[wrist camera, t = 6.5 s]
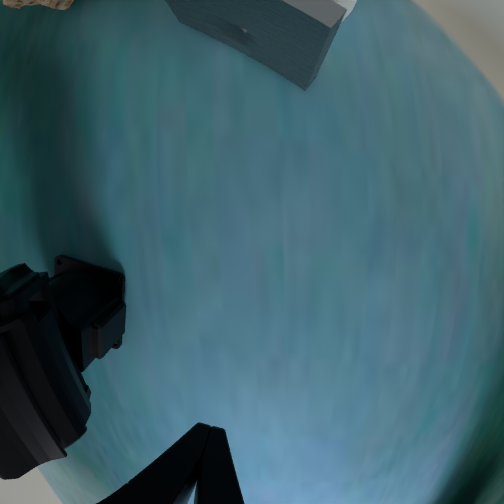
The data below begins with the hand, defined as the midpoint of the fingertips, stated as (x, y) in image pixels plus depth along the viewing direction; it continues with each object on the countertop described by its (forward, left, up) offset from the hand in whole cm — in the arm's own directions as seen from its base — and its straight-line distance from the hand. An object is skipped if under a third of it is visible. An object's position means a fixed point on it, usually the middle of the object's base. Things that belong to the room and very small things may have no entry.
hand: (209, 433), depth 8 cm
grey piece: (-2, +20, -13) cm, 23 cm away
